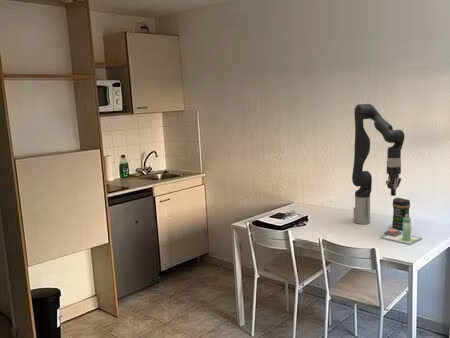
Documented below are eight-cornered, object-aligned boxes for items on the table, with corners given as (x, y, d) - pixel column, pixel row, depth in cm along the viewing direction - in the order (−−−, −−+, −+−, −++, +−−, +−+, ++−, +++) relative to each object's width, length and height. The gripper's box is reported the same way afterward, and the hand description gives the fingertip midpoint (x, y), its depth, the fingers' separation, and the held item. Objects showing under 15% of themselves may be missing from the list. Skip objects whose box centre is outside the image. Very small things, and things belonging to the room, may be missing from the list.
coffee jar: (389, 227, 272) (390, 198, 269) (398, 225, 275) (399, 196, 273) (403, 231, 263) (403, 200, 260) (412, 228, 267) (412, 198, 264)
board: (378, 238, 253) (378, 234, 253) (392, 232, 262) (392, 229, 262) (409, 245, 239) (409, 241, 239) (422, 239, 248) (422, 235, 248)
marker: (401, 239, 246) (401, 218, 245) (405, 238, 248) (405, 217, 247) (407, 241, 243) (407, 219, 241) (412, 239, 245) (412, 218, 244)
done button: (387, 233, 256) (387, 229, 256) (391, 232, 259) (391, 228, 258) (394, 235, 253) (394, 230, 253) (397, 233, 256) (398, 229, 255)
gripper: (393, 163, 257) (393, 192, 260) (381, 166, 249) (380, 196, 251) (406, 164, 251) (405, 194, 254) (393, 167, 243) (393, 198, 246)
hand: (393, 195), depth 253 cm, fingers closed
